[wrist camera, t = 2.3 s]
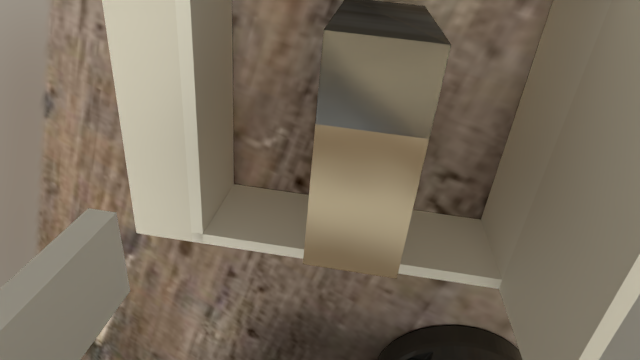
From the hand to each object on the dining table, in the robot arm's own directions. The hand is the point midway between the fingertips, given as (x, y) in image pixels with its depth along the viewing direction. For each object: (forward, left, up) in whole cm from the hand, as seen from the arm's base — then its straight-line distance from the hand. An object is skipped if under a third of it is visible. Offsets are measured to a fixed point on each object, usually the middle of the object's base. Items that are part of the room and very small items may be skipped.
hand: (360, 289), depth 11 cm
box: (-1, 0, -21) cm, 21 cm away
